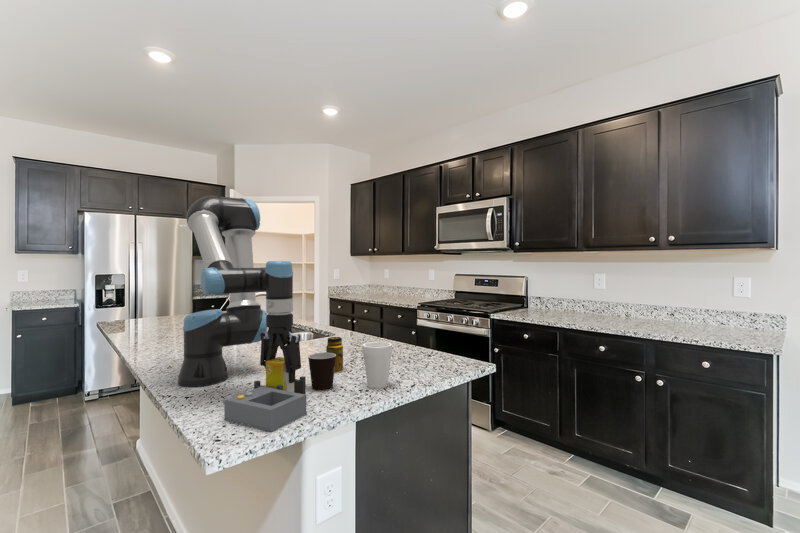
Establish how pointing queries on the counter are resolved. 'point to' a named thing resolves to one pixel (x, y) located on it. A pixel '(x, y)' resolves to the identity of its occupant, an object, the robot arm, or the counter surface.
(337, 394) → the counter surface
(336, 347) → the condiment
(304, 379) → the dark grey rack
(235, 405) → the port
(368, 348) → the foam cup
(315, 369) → the coffee mug
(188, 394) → the counter surface
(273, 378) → the supplement box
